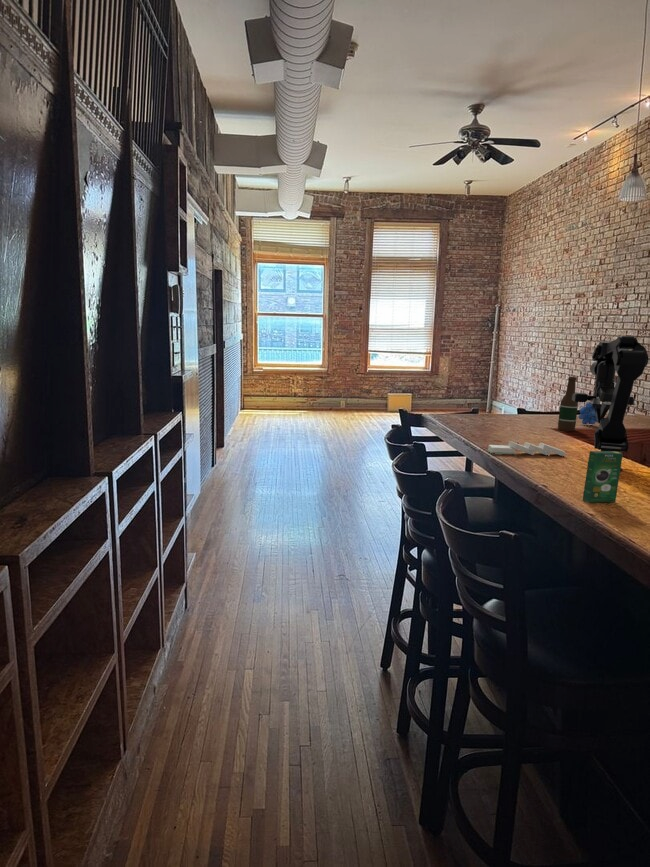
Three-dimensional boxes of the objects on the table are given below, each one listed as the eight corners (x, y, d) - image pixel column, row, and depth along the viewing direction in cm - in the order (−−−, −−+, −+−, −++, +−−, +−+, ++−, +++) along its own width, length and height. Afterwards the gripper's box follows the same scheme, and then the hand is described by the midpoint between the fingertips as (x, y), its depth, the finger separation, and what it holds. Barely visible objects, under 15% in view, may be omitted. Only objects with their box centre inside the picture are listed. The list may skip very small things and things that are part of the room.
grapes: (604, 425, 264) (607, 400, 262) (604, 427, 258) (607, 402, 256) (577, 422, 269) (580, 398, 267) (577, 424, 263) (580, 400, 261)
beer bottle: (553, 429, 248) (559, 376, 244) (561, 427, 253) (567, 375, 249) (570, 431, 243) (577, 377, 238) (578, 430, 248) (585, 377, 243)
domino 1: (515, 448, 190) (492, 447, 190) (514, 452, 191) (491, 451, 191) (511, 445, 195) (488, 444, 195) (510, 450, 195) (488, 449, 195)
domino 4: (551, 451, 191) (530, 444, 190) (549, 456, 191) (528, 448, 191) (545, 449, 196) (525, 441, 195) (543, 453, 196) (523, 445, 195)
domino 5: (565, 452, 191) (544, 444, 191) (564, 456, 191) (542, 448, 191) (560, 449, 195) (540, 442, 195) (559, 453, 195) (538, 446, 195)
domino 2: (509, 454, 196) (487, 453, 196) (510, 449, 196) (487, 448, 196) (513, 457, 191) (491, 456, 191) (514, 452, 191) (491, 451, 191)
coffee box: (609, 499, 142) (615, 450, 140) (616, 502, 139) (624, 452, 137) (581, 500, 140) (588, 450, 138) (589, 503, 138) (595, 452, 135)
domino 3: (535, 451, 191) (516, 444, 189) (533, 455, 191) (514, 448, 189) (528, 447, 195) (509, 440, 193) (526, 451, 196) (507, 444, 194)
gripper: (581, 379, 182) (575, 425, 185) (642, 382, 178) (635, 429, 181) (574, 376, 193) (568, 420, 195) (632, 379, 188) (625, 423, 191)
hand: (599, 423), depth 191 cm, fingers closed
